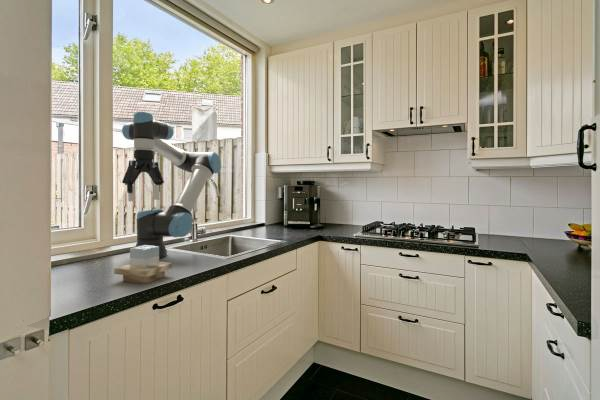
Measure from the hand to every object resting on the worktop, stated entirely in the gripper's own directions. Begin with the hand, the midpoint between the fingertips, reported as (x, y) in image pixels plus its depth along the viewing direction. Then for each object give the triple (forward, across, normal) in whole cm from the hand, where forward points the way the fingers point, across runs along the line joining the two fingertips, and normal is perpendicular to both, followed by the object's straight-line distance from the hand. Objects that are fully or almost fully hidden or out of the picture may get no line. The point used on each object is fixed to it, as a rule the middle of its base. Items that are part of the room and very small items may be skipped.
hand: (144, 200), depth 138 cm
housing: (+24, +13, +12) cm, 30 cm away
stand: (+29, +13, +12) cm, 34 cm away
